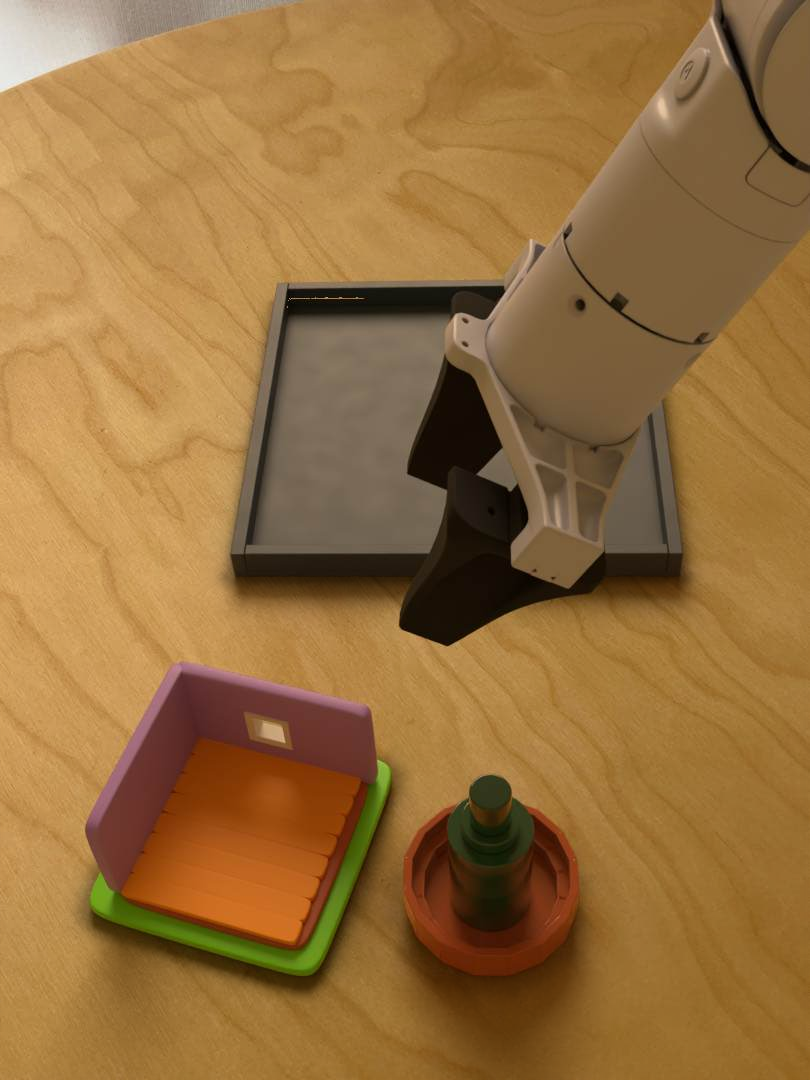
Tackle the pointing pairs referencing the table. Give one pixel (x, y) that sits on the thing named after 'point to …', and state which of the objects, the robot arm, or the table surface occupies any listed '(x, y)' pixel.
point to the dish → (491, 948)
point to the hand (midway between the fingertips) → (427, 549)
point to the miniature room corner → (239, 818)
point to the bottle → (490, 856)
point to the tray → (390, 442)
